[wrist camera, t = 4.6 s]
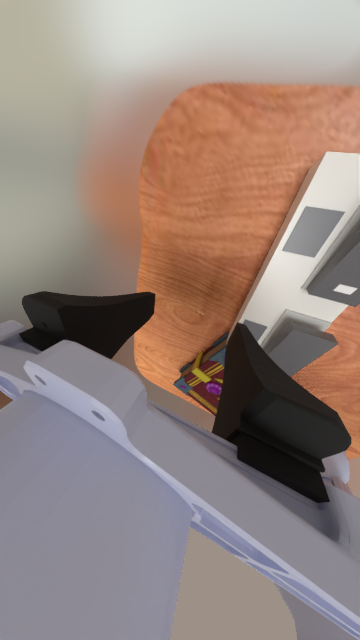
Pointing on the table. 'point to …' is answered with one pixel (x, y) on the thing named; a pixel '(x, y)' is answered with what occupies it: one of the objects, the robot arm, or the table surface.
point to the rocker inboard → (299, 347)
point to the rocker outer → (340, 275)
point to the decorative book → (205, 376)
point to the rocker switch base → (305, 251)
